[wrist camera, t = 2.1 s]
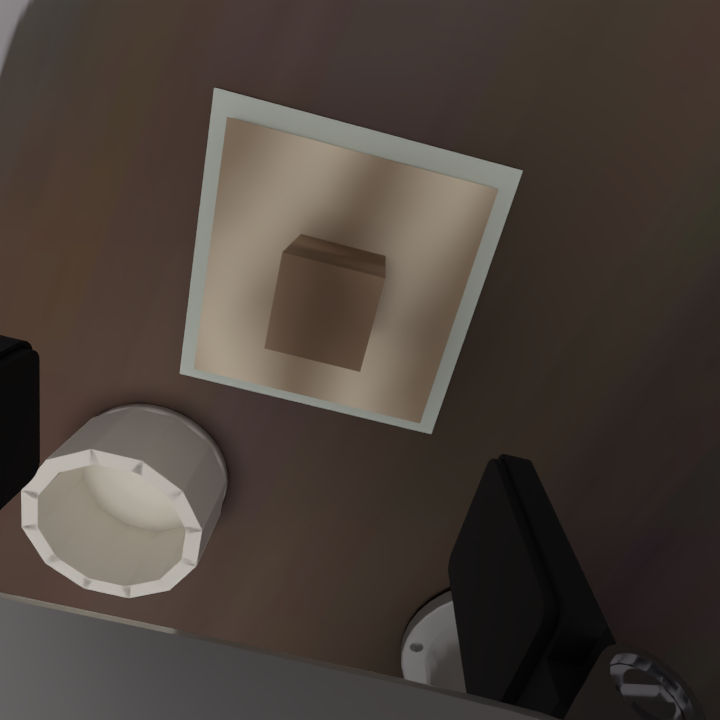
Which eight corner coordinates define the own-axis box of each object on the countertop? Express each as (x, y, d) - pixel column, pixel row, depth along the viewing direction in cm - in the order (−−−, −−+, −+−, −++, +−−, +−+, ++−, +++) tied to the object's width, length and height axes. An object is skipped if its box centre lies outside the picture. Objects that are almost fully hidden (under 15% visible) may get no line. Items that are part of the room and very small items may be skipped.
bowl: (239, 424, 29) (211, 476, 24) (217, 545, 32) (189, 611, 28) (79, 386, 28) (20, 432, 24) (74, 513, 32) (21, 575, 27)
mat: (520, 170, 23) (523, 170, 23) (430, 430, 28) (431, 434, 28) (217, 88, 23) (214, 87, 22) (182, 370, 28) (179, 373, 27)
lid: (493, 187, 23) (524, 198, 18) (418, 414, 28) (426, 473, 23) (233, 118, 23) (189, 108, 18) (200, 361, 27) (157, 409, 22)
